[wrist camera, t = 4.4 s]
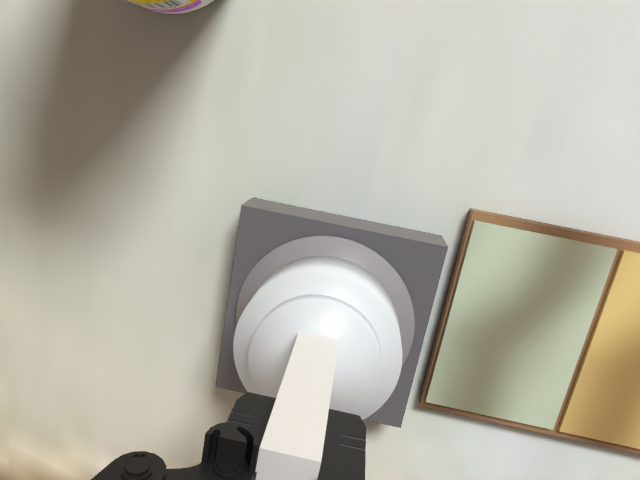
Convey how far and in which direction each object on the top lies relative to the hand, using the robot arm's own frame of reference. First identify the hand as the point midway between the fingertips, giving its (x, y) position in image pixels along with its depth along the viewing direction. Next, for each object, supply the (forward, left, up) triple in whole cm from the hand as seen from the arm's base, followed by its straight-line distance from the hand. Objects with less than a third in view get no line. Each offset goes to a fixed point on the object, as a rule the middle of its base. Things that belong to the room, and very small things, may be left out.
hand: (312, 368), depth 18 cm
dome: (0, 0, -4) cm, 4 cm away
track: (-15, -1, -6) cm, 16 cm away
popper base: (0, 0, -6) cm, 6 cm away
